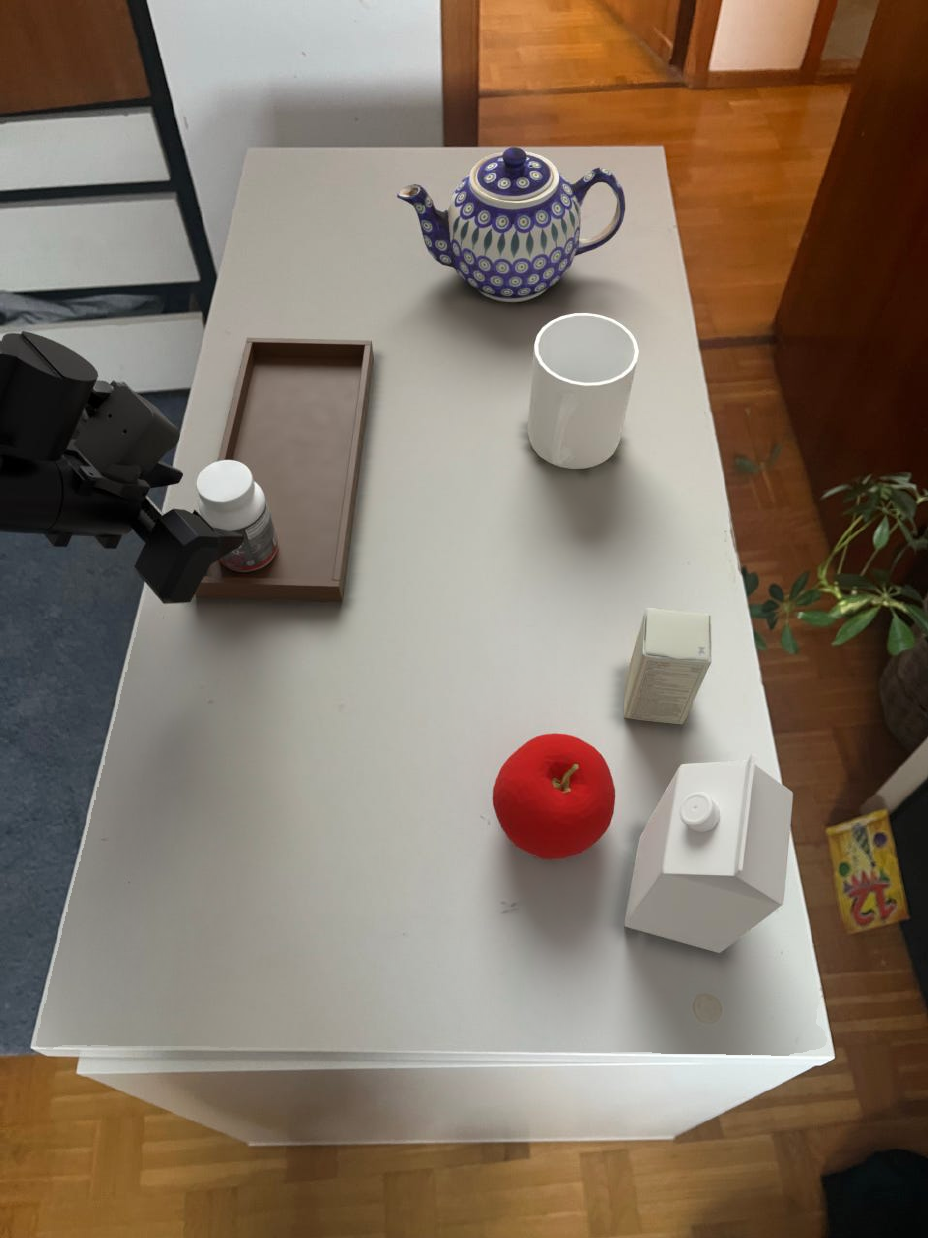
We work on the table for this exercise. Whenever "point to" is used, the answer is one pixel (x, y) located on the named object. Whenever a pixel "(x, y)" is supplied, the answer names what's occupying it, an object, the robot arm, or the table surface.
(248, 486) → the pill bottle
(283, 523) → the tray
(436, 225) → the teapot
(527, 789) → the fruit
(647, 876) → the milk carton
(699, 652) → the box
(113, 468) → the robot arm
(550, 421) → the mug
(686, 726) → the table surface
